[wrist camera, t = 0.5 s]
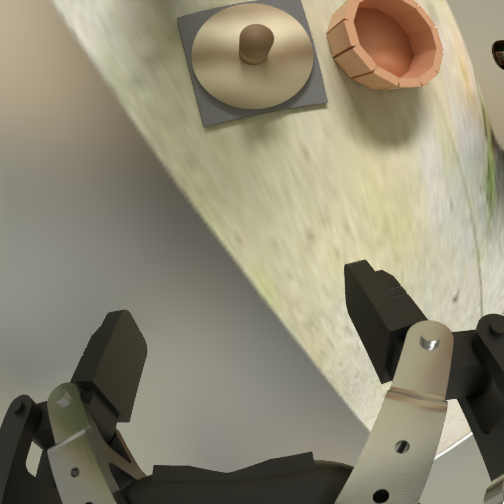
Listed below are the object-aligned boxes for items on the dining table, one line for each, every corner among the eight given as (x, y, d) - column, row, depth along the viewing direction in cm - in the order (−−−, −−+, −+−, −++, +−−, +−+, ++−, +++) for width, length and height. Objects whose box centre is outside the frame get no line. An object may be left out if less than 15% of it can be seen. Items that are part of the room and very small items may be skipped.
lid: (182, 20, 24) (169, -2, 18) (296, -1, 23) (309, -24, 17) (207, 121, 29) (199, 121, 23) (322, 98, 29) (343, 94, 23)
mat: (177, 19, 24) (176, 18, 24) (298, -3, 23) (299, -4, 23) (204, 127, 30) (203, 127, 30) (326, 102, 29) (327, 102, 29)
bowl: (316, 3, 24) (331, -16, 18) (401, 7, 23) (425, -5, 18) (340, 92, 29) (361, 88, 23) (422, 88, 28) (450, 87, 23)
